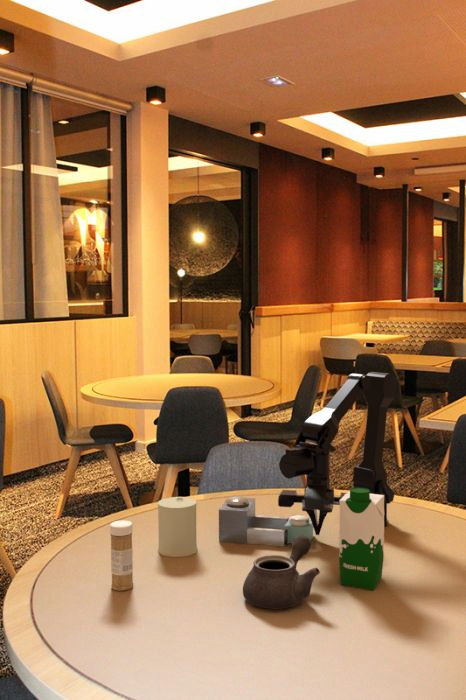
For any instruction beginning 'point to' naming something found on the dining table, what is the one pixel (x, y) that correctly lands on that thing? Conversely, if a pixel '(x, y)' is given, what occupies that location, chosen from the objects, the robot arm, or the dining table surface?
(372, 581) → the milk carton
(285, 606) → the teapot
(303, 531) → the teal cube with ball
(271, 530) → the motor mount
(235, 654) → the dining table surface
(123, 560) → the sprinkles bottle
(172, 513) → the can
